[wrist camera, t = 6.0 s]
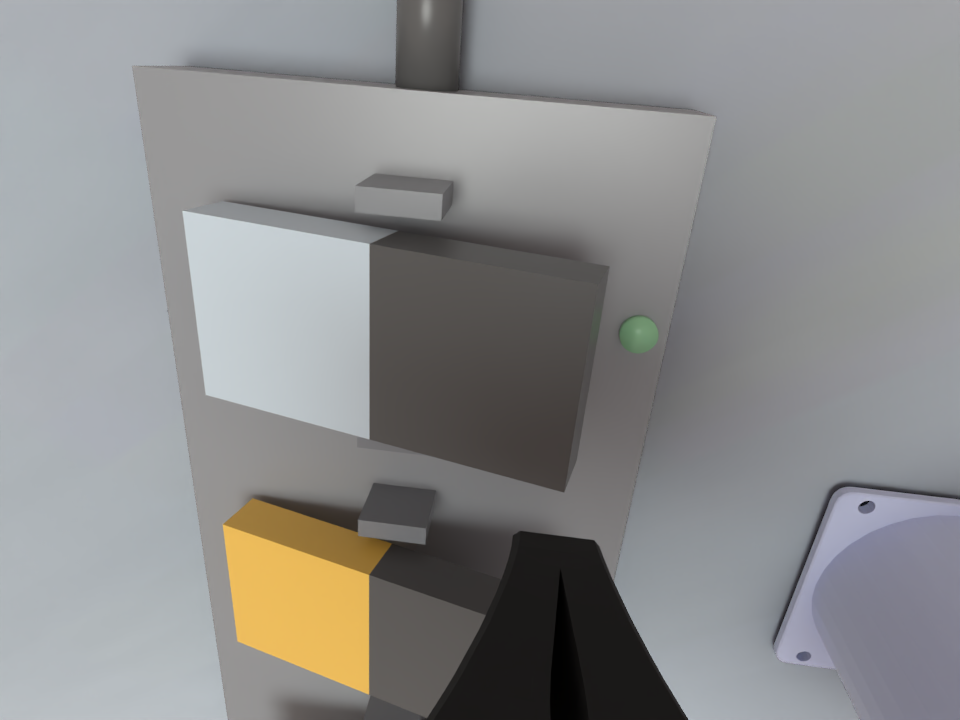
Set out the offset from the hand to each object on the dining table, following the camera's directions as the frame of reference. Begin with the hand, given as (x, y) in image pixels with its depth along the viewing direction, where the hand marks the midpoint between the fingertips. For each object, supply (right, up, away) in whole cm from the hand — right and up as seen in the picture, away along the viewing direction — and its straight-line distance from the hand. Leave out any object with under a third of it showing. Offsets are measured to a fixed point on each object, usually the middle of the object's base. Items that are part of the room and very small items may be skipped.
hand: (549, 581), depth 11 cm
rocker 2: (-4, -4, +10) cm, 11 cm away
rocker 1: (-3, +5, +6) cm, 8 cm away
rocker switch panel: (-3, 0, +12) cm, 13 cm away
